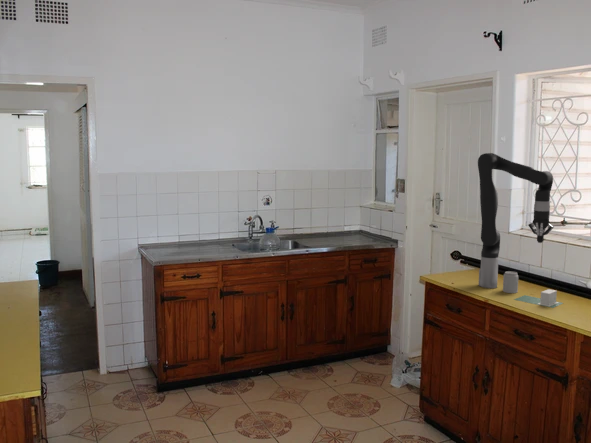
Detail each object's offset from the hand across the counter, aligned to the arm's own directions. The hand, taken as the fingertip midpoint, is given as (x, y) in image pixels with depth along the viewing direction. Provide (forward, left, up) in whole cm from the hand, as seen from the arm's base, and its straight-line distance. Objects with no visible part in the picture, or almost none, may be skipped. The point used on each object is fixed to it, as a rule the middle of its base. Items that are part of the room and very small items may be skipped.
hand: (540, 242), depth 291 cm
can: (-12, -6, -29) cm, 32 cm away
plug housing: (+12, -14, -27) cm, 33 cm away
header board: (+7, -14, -29) cm, 33 cm away
